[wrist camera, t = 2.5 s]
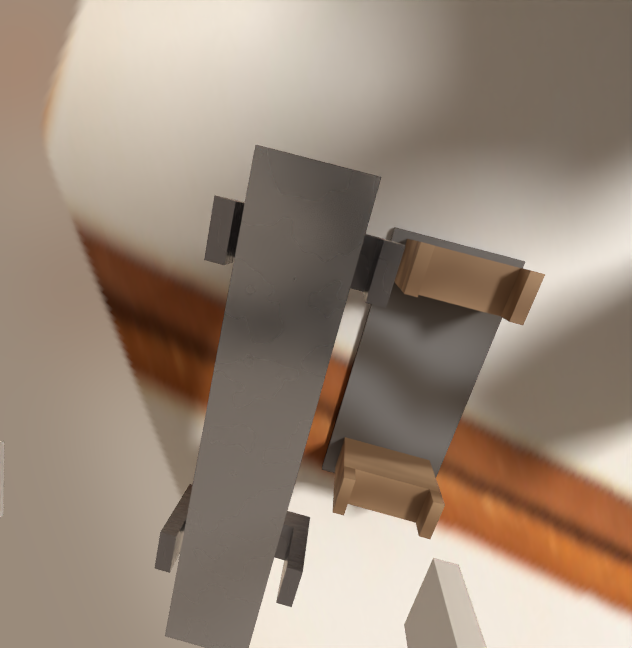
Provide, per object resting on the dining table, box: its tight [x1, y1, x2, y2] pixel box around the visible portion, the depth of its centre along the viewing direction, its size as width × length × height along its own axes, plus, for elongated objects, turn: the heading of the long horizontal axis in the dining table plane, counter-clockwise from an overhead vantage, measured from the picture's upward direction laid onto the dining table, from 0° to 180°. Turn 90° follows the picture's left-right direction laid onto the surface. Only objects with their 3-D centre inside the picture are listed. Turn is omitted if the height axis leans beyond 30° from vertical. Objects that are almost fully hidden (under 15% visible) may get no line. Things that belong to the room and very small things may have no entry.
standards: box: [155, 196, 405, 607], centre depth 22 cm, size 20×7×12 cm, turn 166°
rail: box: [165, 145, 381, 648], centre depth 16 cm, size 22×4×4 cm, turn 166°
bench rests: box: [322, 228, 545, 539], centre depth 25 cm, size 20×9×5 cm, turn 166°
